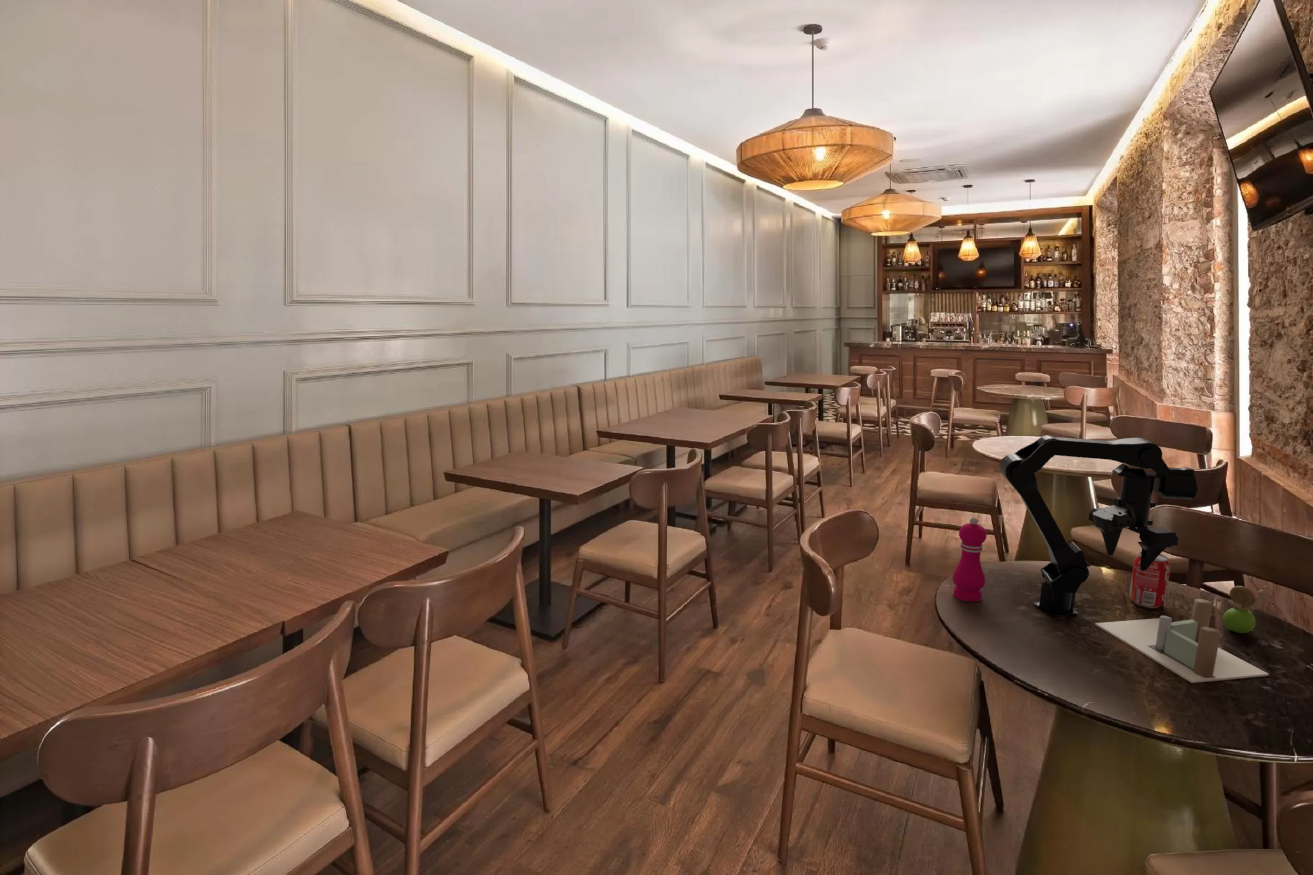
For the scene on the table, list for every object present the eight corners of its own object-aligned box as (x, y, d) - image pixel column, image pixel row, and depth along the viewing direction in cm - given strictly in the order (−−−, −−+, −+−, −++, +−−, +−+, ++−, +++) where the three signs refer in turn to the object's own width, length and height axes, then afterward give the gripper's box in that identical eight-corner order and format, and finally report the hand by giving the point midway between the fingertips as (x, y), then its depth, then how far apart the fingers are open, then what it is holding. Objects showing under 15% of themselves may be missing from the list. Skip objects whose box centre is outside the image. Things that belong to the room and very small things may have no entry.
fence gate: (1173, 650, 143) (1179, 609, 141) (1159, 643, 146) (1165, 603, 144) (1209, 644, 145) (1216, 604, 144) (1195, 637, 148) (1202, 598, 146)
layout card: (1191, 682, 132) (1192, 680, 132) (1094, 624, 156) (1095, 622, 155) (1268, 675, 135) (1268, 673, 135) (1161, 619, 158) (1162, 617, 158)
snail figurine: (1251, 641, 148) (1261, 588, 146) (1216, 629, 154) (1225, 577, 151) (1263, 636, 151) (1273, 584, 148) (1228, 623, 156) (1237, 573, 154)
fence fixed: (1216, 676, 134) (1224, 633, 132) (1203, 678, 133) (1211, 634, 131) (1163, 646, 145) (1169, 606, 143) (1150, 647, 145) (1156, 606, 143)
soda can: (1153, 597, 170) (1160, 551, 167) (1171, 610, 163) (1178, 562, 160) (1122, 596, 170) (1129, 549, 168) (1138, 609, 163) (1146, 560, 161)
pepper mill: (945, 591, 173) (951, 513, 169) (973, 589, 174) (979, 512, 170) (960, 603, 166) (967, 522, 162) (989, 602, 167) (997, 521, 163)
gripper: (1072, 485, 162) (1064, 549, 165) (1138, 510, 144) (1128, 581, 147) (1114, 484, 164) (1106, 547, 167) (1185, 507, 145) (1174, 578, 149)
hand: (1126, 562), depth 157 cm, fingers open, 9 cm apart
